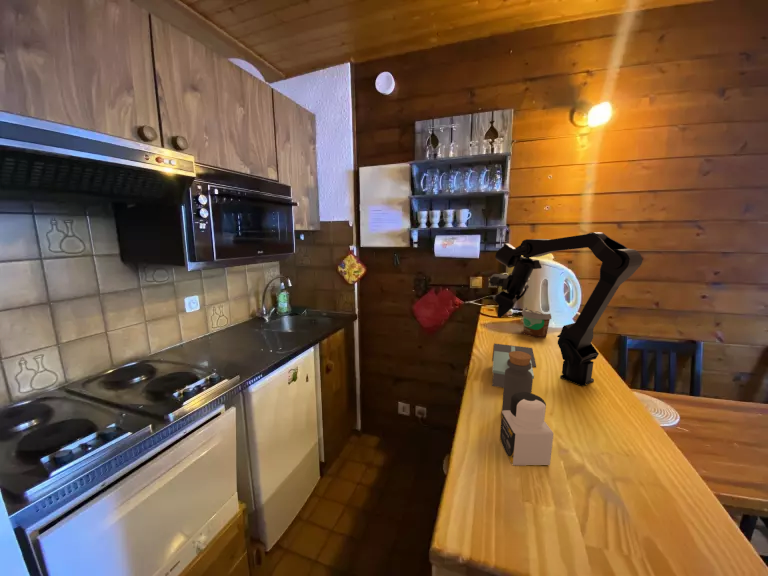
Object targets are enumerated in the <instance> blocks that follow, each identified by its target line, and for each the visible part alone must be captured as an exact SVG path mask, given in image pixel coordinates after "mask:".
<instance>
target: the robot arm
mask: <svg viewBox="0 0 768 576" xmlns="http://www.w3.org/2000/svg"><path fill="white" fill-rule="evenodd" d="M586 248H587V249H589V250H590V251H591V253H592V254H593V255H594V256H595V258H597V259H598V260H599V261H600V262H601V265H600V268H599V279H598V281H597V283H596V285H595V287H594V289H593V290H592V292H591V294H590V296H589V297H588V299H587V301H586V303H585V305H584V306H583V308H582V309H581V311H580V314H579V315H578V317H577V319H576V320H575V322H573V323H569V324H565V325H563V327H562V328H561V331H560V333H559V334H557V336H556V337H557V338H558V339H557V345H558V348H559V349H560V353H561V357H562V360H563V361H562V367H561V369H562V370H561V375H560V376H559V378H560V379H563V380H565V381H568V382H570V383H573V384H575V385H578V386H581V387H586V386H587V385H589V384H591V383H593V382H594V381H595V380H594V378H593V377H592V376H593V369H594V362H595V361H593V360H596V359H598V356H599V355H600V353H599V352H598V351H597V349H596V348H595V346H594V345H593V343H592V342H593V339H594V329H595V327H596V324H597V323H598V322H599V320H600V319H601V317H602V315H603V313H604V312H605V310H606V308H607V307H608V305H609V303H610V302H611V301H612V299H613V298H614V297H615V294H616V292H617V291H618V289H619V288H620V286H621V285H623V283H625V282H626V281H627V280H628V279H629V278H630V277H632V276H633V274H634V273H635V272H636V271H638V269H639V268H640V267H641V266H642V264H643V257H642V255H641V253H640V252H639V251H638V250H636V249H633V248H628V247H627V246H626V245H624V244H622V243H620V242H619V241H617V240H615V239H613V238H611V237H609V236H608V235H606V233H604V232H598V231H595V232H592V231H591V232H588V233H586V234H585V233H584V234H579V235H577V234H576V235H573V236H571V235H570V236H565V237H559V238H549V239H548V238H531V239H530V238H529V239H527V238H526V239H524V240H522V241H521V243H520V244H519V245H518V246H517V247H514V246H513V245H512V244H511V243H504V244H503V246H501V247H500V248H499V249H498V250H497V251H496V253H495V254H494V255H495V256H494V257H495V260H496V261H498V262H499V263H501V264H502V265H504V266H506V267H507V268H510V269H512V270H511V273H510V274H501V273H493V274H492V275H490V276H489V277H490V278H489V281H488V282H489V285H490V286H491V287H502V288H501V289H502V290H500V291H499V292H497V293H496V295H494V299H493V300H494V302H495V303H497V306H498V307H497V308H498V309H497V314H496V315H497V317H498V318H499V319H502V317H504V316H505V315H506V314H507V313H508V312H509V311H511V310H513V308H514V307H515V305H516V304H517V302H518V301H519V300H520V299H522V298H523V296H524V295H525V294H526V293H527V291H528V289H529V287H530V286H529V284H528V282H529V281H530V277H531V275H532V274H533V270H539V269H543V267H542V264H541V263H540V260H538V259H535V260H533V258H539V257H543V256H547V255H550V254H552V253H555V252H560V251H569V250H578V249H579V250H581V249H586ZM497 317H496V318H497Z"/></svg>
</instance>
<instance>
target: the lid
mask: <svg viewBox="0 0 768 576" xmlns="http://www.w3.org/2000/svg"><path fill="white" fill-rule="evenodd" d="M514 346H515V345H511V352H512V351H515V347H514ZM493 352H494V359H493V358H492V374H493V373H497V374H504V375H505V370H506V369H507V368H509V366H508V365H507V361H508V359H510V358H509V353H507V352H499V351H494V350H493ZM530 363H531V360H530ZM533 368H534V367H532V363H531V369H530V370H528V371H529V372H530V373H531V374H532V379H533V380H534V379H535V378H534V377H535V375H534V369H533Z"/></svg>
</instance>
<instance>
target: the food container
mask: <svg viewBox="0 0 768 576" xmlns="http://www.w3.org/2000/svg"><path fill="white" fill-rule="evenodd" d="M521 315H522V316H523V325H522V327H523V334H524V333H525V334H524V335H525V336H529V337H532V338H540V339H541V338H542V339H543V338H547V335H548V332H549V331H548V330H549V325H550V320H552V314H551V313H542V312H540V311H537V310H531V309H528V306H527V307H524V308H523V309H522V311H521Z"/></svg>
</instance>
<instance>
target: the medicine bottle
mask: <svg viewBox="0 0 768 576" xmlns="http://www.w3.org/2000/svg"><path fill="white" fill-rule="evenodd" d="M546 406H547V404H546V401H545V400H544V399H543V398H542V397H541V396H539V395H537V394H534V393H532V392H531V393H528V392H517V393H515V394H513V395H512V397H511V406H510V410H503V411H502V410H501V417H500V418H501V419H500V431H499V441H500V443H501V446H502V447H503V450H504V452H505V454H506V456H507V458H508V460H509V462H510V464H511V465H512V464H513V465H512V466H526V465H549V466H550V465H551V461H552V460H551V459H552V453H553V451H552V449H553V441H554V431H553V430H552V429H551V427H550V426H549V425H548V423H547V422H546V421H545V418H546V408H547V407H546Z"/></svg>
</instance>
